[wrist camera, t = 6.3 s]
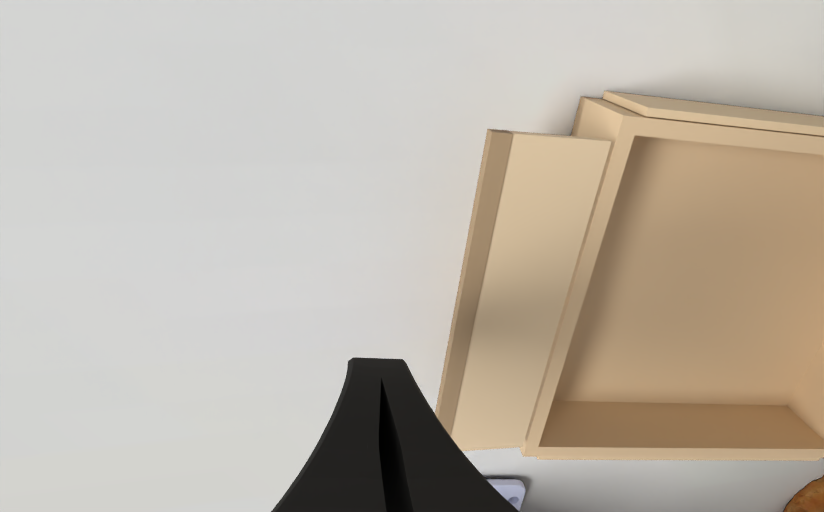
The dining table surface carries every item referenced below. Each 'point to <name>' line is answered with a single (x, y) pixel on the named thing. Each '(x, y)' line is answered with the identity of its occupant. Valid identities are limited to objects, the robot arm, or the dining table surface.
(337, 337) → the dining table surface
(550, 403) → the carton
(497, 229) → the flap
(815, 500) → the burger
